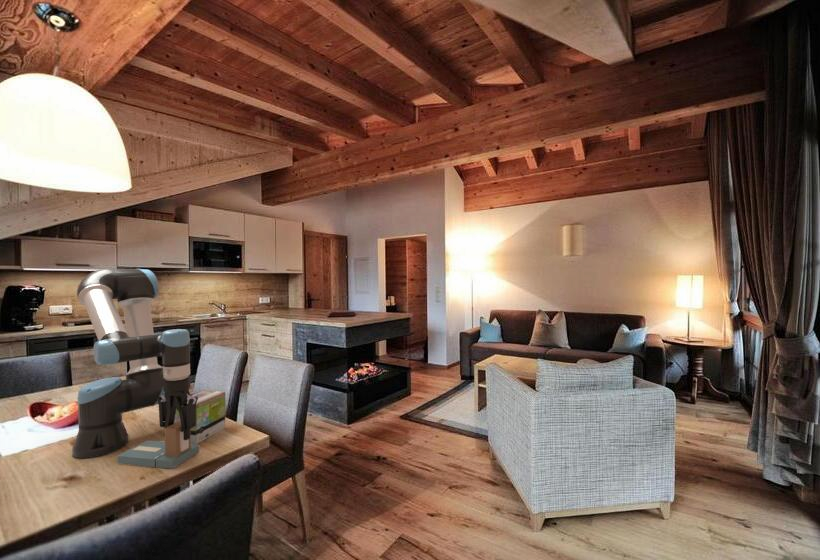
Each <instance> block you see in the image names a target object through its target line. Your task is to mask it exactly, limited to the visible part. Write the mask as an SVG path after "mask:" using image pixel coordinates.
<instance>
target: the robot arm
mask: <svg viewBox="0 0 820 560" xmlns="http://www.w3.org/2000/svg"><path fill="white" fill-rule="evenodd" d="M159 289H160V287H159V281H158V278H157V276H156V274H155V273H154V272H153V271H152V270H150V269H143V268H142V269H141V268H112V269H111V268H103V269H98V270H94V271H92V272H90V273H89V274H87V275H86V276H85V277H84V278H83V279H82V280H81V281H80V283H79V284H78V286H77V289H76V296H77V298H78V301H79V303H80V304H81V305H83V306H84V307H85V309H86V312H87V314H88V316H89V320H90V322H91V325H92V328H93V330H94V332H95V335H96V337H97V340H98V341H95V343H94V345H93V348H92V349H93V350H92V351H93V359H94V362H95V364H97V365H99V366H102V365H105V366H106V365H114V364H119V363H125V362H129V371H127V373H126V374H125V379H122V378H121V377H120V376H112V377H105V378H100V379H97V380H94V381H91V382H88V383H86V384H85V385H83V386H81V387H80V389H79V390H78V392H77V393H78V395H77V405H78V406H77V409H78V410H77V411H78V431H77V434H76V436H75V440H74V443H73V445H72V448H71V449H72V452H71V453H72V457H74V458H76V459H87V458H89V459H90V458H95V457H101V456H104V455H108V454H111V453H113V452H117V451H119V450H121V449H123V448H124V447H126V446H127V445H129V442H130V441H129V440H130V435H129V433H128V432H127V431H128V430H127V429H126V427H125V425H124V423H123V414H125V413H128V412H133V411H136V410H142V409H145V408H149V407H154V406H157V405H158V415H159V416H158V417H159V418H158V419H159V428H164V429H165V428H166V427H168V426H170V425H172V424H174V420H175V414H176V408H177V410H178V411H179V416H180V421H181V426H182V430H180V451H184V450H186V449H187V448H189V438H190V429H191V428H193V427H194V426H196V403H197V400H198V398H197V397H192V395H191V392H190V388H191V376H190V375H191V347H190V346H191V345H190V343H191V338H190V332H189V330H188V329H184V328H183V329H182V328H176V329H175V328H174V329H167V330H165V331H163V332H156V333H154V332H155V331H154V324H153V317H152V310H151V309H152V308H151V305H152V304H153V302H154V301H155V298H156V297H158V295H159ZM114 300H117V305H118V306H119V307H121V308H122V309H123V316H124V317H123V318H124V323H123V321H122V318H121V316H120V314H119V311H118V309H117V307H116V305H115V303H114ZM158 357H162V366H161V365H160V364H158V363H159V362H158ZM187 400H188V401H187ZM186 425H187V426H186Z"/></svg>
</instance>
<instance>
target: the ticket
mask: <svg viewBox="0 0 820 560" xmlns="http://www.w3.org/2000/svg"><path fill="white" fill-rule="evenodd" d="M163 455H165V441H158V440H149V439H148V440H145V441H143V442H142V443H140V444H138V445H136V446H134V447H132V448H130V449H128V450H126V451H125V452H122V453H120V454H118V455H117V459H116V460H117V461H116V462H117V464H119V465H120V464H121V465H126V466H127V465H129V466H138V467H145V468H146V467H147V468H157V467H156V459H158V458H160V457H161V456H163Z"/></svg>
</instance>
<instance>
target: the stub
mask: <svg viewBox="0 0 820 560" xmlns="http://www.w3.org/2000/svg"><path fill="white" fill-rule="evenodd" d="M186 426H187V425H186ZM180 430H182V426H181V421H178V422H176V423H174V424H172V425H170V426H168V427H166V428H164V442H165V455H163V456H161V457H160V458H158V459H156V467H155V468H160V469H161V468H162V469H170V470H171V469H172V470H173V469H175V468H176V467H178V466H180V465H181V464H182V463H184V462H186V461H187V460H188V459H190V458H191V457H194V456H195V455H197V454H198V453H199V452H200V445H199V444H196V445H195V444H191V436H190V438H189V448H187V449H186V450H184V451H180Z"/></svg>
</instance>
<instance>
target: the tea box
mask: <svg viewBox="0 0 820 560" xmlns="http://www.w3.org/2000/svg"><path fill="white" fill-rule="evenodd" d="M191 396H192V397H197V398H198V400H197V403H196V426H194V427H193V428H191V429H190V436H191V444H193V445H199V444H200V443H201V442H203V441H205V440H206V439H208V438H210V437H211V436H213V435H215V434H217V433H219V432H220V431H222V430H224V429H225V428H226V391H222V390H221V391H218V390H217V391H216V390H208V389H207V390H202V391H199V392H197V393H195V394H192V395H191ZM187 401H188V400H187ZM178 421H180V416H179V411H178V410H177V408H176V414H175V420H174V423H176V422H178Z"/></svg>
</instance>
